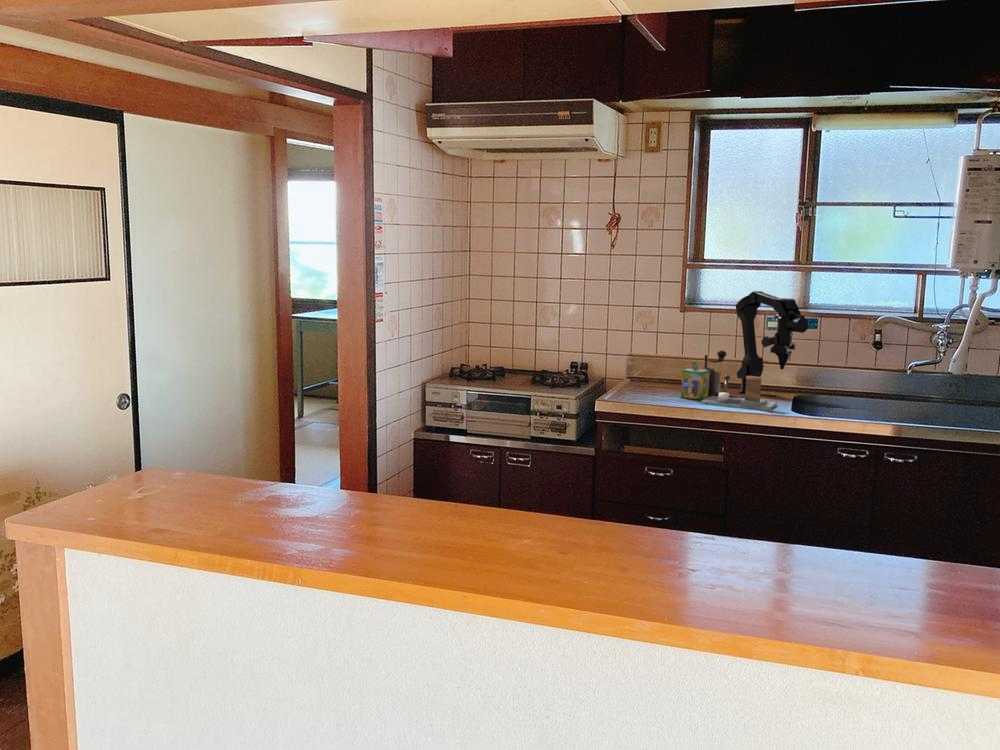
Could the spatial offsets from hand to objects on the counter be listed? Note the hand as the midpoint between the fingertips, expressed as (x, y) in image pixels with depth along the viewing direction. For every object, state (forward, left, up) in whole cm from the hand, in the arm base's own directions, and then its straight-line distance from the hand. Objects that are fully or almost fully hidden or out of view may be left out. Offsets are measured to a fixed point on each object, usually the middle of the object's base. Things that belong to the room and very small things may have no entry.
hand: (781, 369), depth 342 cm
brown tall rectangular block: (+21, -6, -12) cm, 25 cm away
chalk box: (+13, -31, -13) cm, 36 cm away
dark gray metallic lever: (+15, -19, -10) cm, 26 cm away
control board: (+17, -12, -13) cm, 24 cm away
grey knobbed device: (-1, -30, -13) cm, 33 cm away
